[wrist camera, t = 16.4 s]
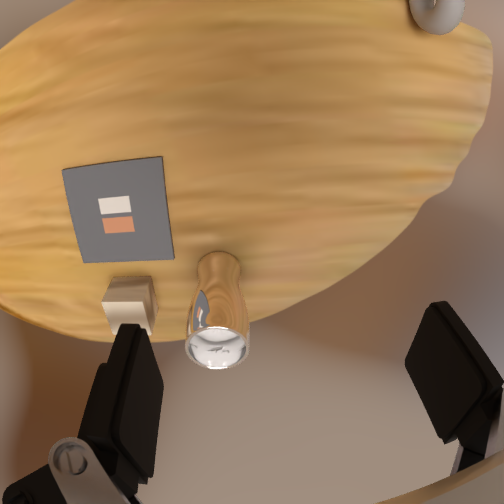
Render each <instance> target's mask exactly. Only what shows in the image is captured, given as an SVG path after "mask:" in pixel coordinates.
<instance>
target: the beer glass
mask: <svg viewBox="0 0 504 504" xmlns="http://www.w3.org/2000/svg"><path fill="white" fill-rule="evenodd" d="M197 274H198V279H199V283H198V286H197V288H196V291H195V293H194V295H193V297H192V300H191V303H190V306H189V309H188V314H187V320H186V344H185V350H186V353H187V355H188V357H189V358H190V359H191V360H192V361H193V362H195V363H196V364H198V365H200V366H202V367H205V368H209V369H217V370H219V369H227V368H231V367H234V366H237V365H238V364H240V363H241V362H243V361H244V360H245V359H246V357H247V355H248V353H249V317H248V311H247V307H246V303H245V300H244V298H243V295H242V292H241V289H240V286H239V280H240V276H241V266H240V264H239V262H238V260H237V259H236V258H235V257H234V256H232V255H231V254H229V253H226V252H212V253H209V254H207V255H206V256H204V257H203V258H202V259H201V260H200V262H199V264H198V268H197Z"/></svg>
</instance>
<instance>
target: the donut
mask: <svg viewBox="0 0 504 504" xmlns="http://www.w3.org/2000/svg"><path fill="white" fill-rule="evenodd" d="M409 5H410V11H411V13H412V16H413V18H414V20H415V21H416V23H417V24H418V25H419V27H421V28H422V29H423V30H425V31H426V32H428V33H430V34H435V35H444V34H446V33H449V32H451V31H452V30H453V29H454V28H455V27H457V26H458V24H459V22H460V20H461V19H462V16H463V12H464V8H465V0H436V4H435V6H434V0H409Z"/></svg>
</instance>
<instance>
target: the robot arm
mask: <svg viewBox="0 0 504 504" xmlns="http://www.w3.org/2000/svg"><path fill="white" fill-rule="evenodd" d="M405 367H406V369H407V371H408V373H409V375H410V377H411V379H412V381H413V383H414V386H415V388H416V390H417V392H418V394H419V396H420V398H421V400H422V402H423V404H424V406H425V409H426V410H427V413H428V415H429V417H430V419H431V422H432V424H433V426H434V428H435V431H436V433H437V435H438V437H439V438H441V439H442V440H443V442H444V444H447V443H449V442H452V441H454V440H456V439H457V438H458V440H459V442H460V443H459V447H458V451H457V454H456V457H455V461H454V464H453V467H452V470H451V474H450V476H449V477H447V478H444V479H442V480H440V481H438V482H435V483H433V484H430V485H428V486H425V487H423V488H420V489H417V490H415V491H412V492H409V493H406V494H404V495H400V496H398V497H395V498H391V499H388V500H385V501H382V502H379V503H375V504H504V389H503V388H502V385H503V383H504V380H503V379H502V377H501V376H500V374H499V373H498V371H497V370H496V368H495V367H494V365H493V364H492V362H491V361H490V359H489V358H488V356H487V355H486V353H485V352H484V351H483V349H482V348H481V346H480V345H479V344H478V342H477V340H476V339H475V338H474V336H473V335H472V334H471V332H470V331H469V330H468V328H467V327H466V326H465V324H464V323H463V321H462V320H461V319H460V318H459V316H458V315H457V314H456V312H455V311H454V310H453V308H452V307H451V306H450V305H449V304H448V302H446V301H440V302H434V303H431V304H430V305H429V307H428V308H427V309H426V310H425V313H424V315H423V318H422V321H421V323H420V325H419V328H418V330H417V333H416V335H415V338H414V340H413V342H412V345H411V347H410V349H409V352H408V354H407V356H406V358H405ZM163 390H164V386H163V380H162V376H161V374H160V371H159V368H158V365H157V362H156V359H155V356H154V353H153V350H152V347H151V343H150V340H149V337H148V334H147V331H146V329H145V328H141V326H140V325H139V324H132V323H122V324H120V326H119V329H118V332H117V335H116V338H115V341H114V343H113V346H112V349H111V352H110V356H109V358H108V362H107V363H102V364H101V365H100V366H99V368H98V370H97V373H96V376H95V379H94V382H93V385H92V389H91V392H90V395H89V398H88V401H87V405H86V408H85V412H84V415H83V418H82V422H81V426H80V429H79V433H78V437H77V438H75V437H72V438H71V437H70V438H64V439H61V440H60V441H58V442H57V443H55V445H54V446H53V447H52V448H51V451H50V453H49V461H48V464H47V465H45V466H43V467H42V468H40V469H38V470H36V471H34V472H33V473H31V474H30V475H27V476H26V477H24V478H22V479H20V480H18V481H17V482H15V483H13V484H11V485H10V486H9V487H7V488H6V490H5V492H4V494H3V498H2V501H3V504H143V503H142V502H141V501H140V499H139V498H138V497H137V495H136V493H137V490H138V483H139V484H147V482H148V477H150V478H152V477H153V474H154V464H155V454H156V445H157V437H158V427H159V420H160V412H161V405H162V397H163Z"/></svg>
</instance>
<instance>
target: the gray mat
mask: <svg viewBox="0 0 504 504" xmlns="http://www.w3.org/2000/svg"><path fill="white" fill-rule="evenodd" d="M62 175H63V181H64V186H65V191H66V196H67V200H68V205H69V209H70V214H71V218H72V222H73V226H74V230H75V234H76V238H77V241H78V245H79V249H80V252H81V256H82V259H83V263H99V262H125V261H150V260H174V258H175V257H174V250H173V243H172V236H171V229H170V221H169V214H168V205H167V197H166V188H165V179H164V169H163V159H162V156H161V157H151V158H141V159H132V160H124V161H116V162H108V163H101V164H94V165H87V166H81V167H75V168H69V169H63V170H62Z"/></svg>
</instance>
